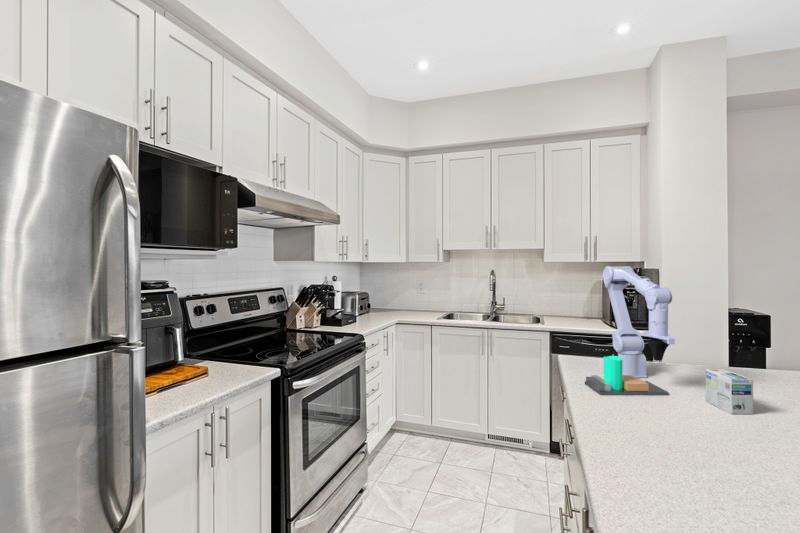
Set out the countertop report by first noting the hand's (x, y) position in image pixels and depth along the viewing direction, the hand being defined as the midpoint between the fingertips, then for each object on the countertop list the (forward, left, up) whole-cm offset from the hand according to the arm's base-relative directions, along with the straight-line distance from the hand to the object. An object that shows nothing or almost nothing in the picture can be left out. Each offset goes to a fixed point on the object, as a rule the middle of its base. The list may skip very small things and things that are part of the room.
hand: (657, 360), depth 139 cm
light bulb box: (-11, +17, -11) cm, 23 cm away
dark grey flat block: (+12, 0, -10) cm, 16 cm away
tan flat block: (+10, 0, -9) cm, 13 cm away
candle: (+16, +1, -10) cm, 19 cm away
